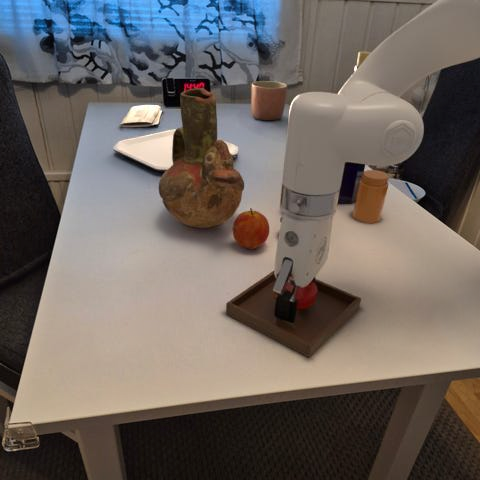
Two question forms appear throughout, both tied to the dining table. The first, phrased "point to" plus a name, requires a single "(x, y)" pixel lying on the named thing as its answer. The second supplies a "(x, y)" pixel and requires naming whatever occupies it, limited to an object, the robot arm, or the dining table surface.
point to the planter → (268, 99)
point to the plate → (154, 149)
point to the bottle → (352, 164)
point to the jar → (371, 196)
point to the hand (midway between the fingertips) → (293, 306)
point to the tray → (306, 320)
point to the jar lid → (304, 294)
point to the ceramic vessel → (200, 167)
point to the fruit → (250, 229)
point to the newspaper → (142, 116)
